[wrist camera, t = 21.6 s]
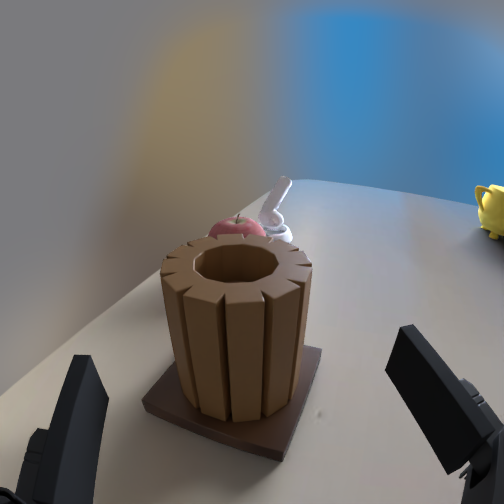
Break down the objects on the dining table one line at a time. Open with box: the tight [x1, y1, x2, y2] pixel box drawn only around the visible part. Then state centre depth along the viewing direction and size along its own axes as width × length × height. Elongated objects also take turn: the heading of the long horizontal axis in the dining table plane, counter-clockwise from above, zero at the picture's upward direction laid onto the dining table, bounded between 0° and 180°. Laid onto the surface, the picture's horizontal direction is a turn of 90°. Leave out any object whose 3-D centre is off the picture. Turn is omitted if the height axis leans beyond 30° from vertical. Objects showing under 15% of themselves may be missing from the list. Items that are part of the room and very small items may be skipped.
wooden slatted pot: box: [160, 233, 312, 422], centre depth 21 cm, size 9×9×10 cm
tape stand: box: [142, 280, 322, 462], centre depth 22 cm, size 11×11×10 cm
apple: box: [208, 214, 267, 240], centre depth 40 cm, size 7×7×8 cm
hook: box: [258, 176, 292, 243], centre depth 53 cm, size 8×12×7 cm
